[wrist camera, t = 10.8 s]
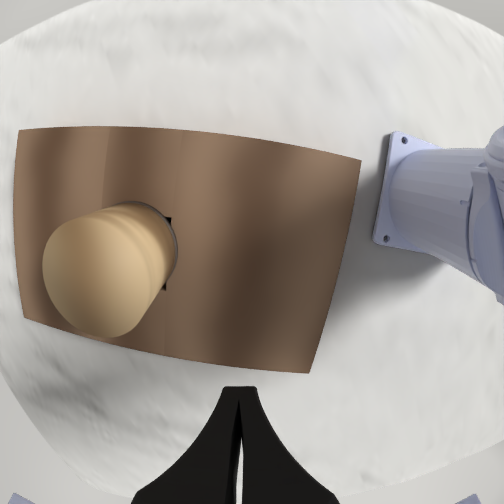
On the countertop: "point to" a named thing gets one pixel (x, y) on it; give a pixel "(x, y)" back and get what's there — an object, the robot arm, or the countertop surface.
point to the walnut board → (199, 235)
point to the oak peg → (109, 266)
